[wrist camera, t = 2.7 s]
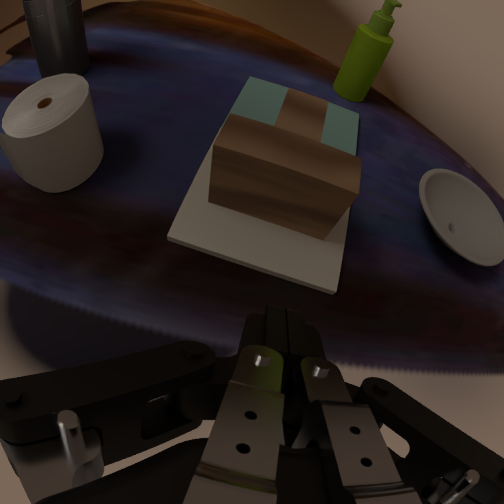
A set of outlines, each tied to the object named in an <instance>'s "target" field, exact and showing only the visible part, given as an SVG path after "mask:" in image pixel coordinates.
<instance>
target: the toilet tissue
mask: <svg viewBox="0 0 504 504" xmlns="http://www.w3.org/2000/svg"><path fill="white" fill-rule="evenodd" d="M2 122H3V123H2V128H3V130H4V132H5V134H6V135H4V134H2V133H0V147H1V148H2V150H3V152H4V153H5V155H6V157H7V158H8V160H9V162H10V163H11V165H12V167H13V168H14V170H15V171H16V173H17V174H18V176H20V177H21V178H22V179H23V180H25V181H26V182H27V183H29V184H30V185H32V186H34V187H37V188H39V189H40V190H42V191H45V192H50V193H57V192H63V191H67V190H70V189H72V188H74V187H76V186H78V185H80V184H81V183H83V182H84V181H85V180H87V179H88V178H89V177H90V176H91V175H92V174H93V173H94V172H95V171H96V169H97V168H98V166H99V165H100V162H101V160H102V158H103V153H104V147H103V142H102V137H101V135H100V131H99V128H98V123H97V120H96V115H95V112H94V108H93V102H92V97H91V95H90V90H89V85H88V82H87V81H86V80H85V79H84V78H83V77H82V76H79V75H76V74H67V73H64V74H59V75H54V76H51V77H46V78H44V79H42V80H40V81H38V82H36V83H35V84H33V85H31V86H30V87H28V88H27V89H25V90H24V91H23V92H22V93H20V94H19V95H18V96H17V97H16V98H15V99H14V100H13V101H12V103H11V104H10V105H9V107H8V108H7V110H6V112H5V114H4V117H3V119H2Z"/></svg>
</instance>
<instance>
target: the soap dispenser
mask: <svg viewBox="0 0 504 504" xmlns="http://www.w3.org/2000/svg"><path fill="white" fill-rule="evenodd" d="M401 6H402V4H401V3H399V2H398V1H397V0H385V2H384V4H383V6H382V9H381V11H380V10H379V11H374V12H373V15H372V17H371V19H370V22H369V24H360V25H359V26H358V28H357V31H356V33H355V35H354V38H353V40H352V42H351V45H350V47H349V49H348V52H347V54H346V56H345V59H344V61H343V63H342V66H341V68H340V70H339V73H338V75H337V77H336V80H335V82H334V84H333V88H334V90H335V92H336V93H337V94H338V95H340V96H341V97H343V98H344V99H346V100H349V101H352V102H361V101H363V100H364V98H365V96H366V94H367V92H368V90H369V89H370V87H371V85H372V83H373V81H374V79H375V77H376V75H377V73H378V71H379V70H380V68H381V66H382V64H383V62H384V60H385V58H386V56H387V54H388V52H389V50H390V48H391V46H392V44H393V42H394V41H393V39H392V38H391V37H390V36H389V35H388V34H389V32H390V29H391V28H392V26H393V24H394V19H393V17H392V16H391V15H392V12H393V10H394V8H395V7H401Z"/></svg>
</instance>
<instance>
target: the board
mask: <svg viewBox="0 0 504 504" xmlns="http://www.w3.org/2000/svg"><path fill="white" fill-rule="evenodd" d="M288 89H289V88H287V87H284V86H281V85H277V84H274V83H271V82H267V81H264V80H261V79H257V78H254V77H249V79H248V81H247V82H246V84H245V86H244V88H243V89H242V91H241V93H240V94H239V96H238V98H237V100H236V101H235V103H234V105H233V107H232V109H231V110H230V112H229V114H230V113H232V114H236V115H239V116H243V117H246V118H250V119H253V120H256V121H259V122H263V123H266V124H269V125H272V126H274V125H275V122H276V120H277V117H278V114H279V112H280V109H281V107H282V104H283V101H284V99H285V96H286V94H287V91H288ZM229 114H228V116H229ZM228 116H227V118H228ZM227 118H226V119H227ZM226 119H225V121H226ZM225 121H224V123H225ZM358 122H359V114H357V113H355V112H353V111H350V110H348V109H345V108H343V107H340V106H338V105H335V104H332V103H330V102H328V107H327V112H326V117H325V122H324V127H323V132H322V137H321V143H324V144H326V145H329V146H332V147H334V148H337V149H339V150H342V151H344V152H347V153H349V154H352V155H354V156H356V146H357V134H358ZM224 123H223V125H224ZM223 125H222V126H221V128H220V130H221V129H222V127H223ZM220 130H219V132H220ZM219 132H218V134H219ZM218 134H217V136H218ZM217 136H216V137H215V139H214V141H213V143H212V145H211V147H210V149H209V151H208V153H207V155H206V156H205V158H204V160H203V162H202V164H201V166H200V168H199V170H198V172H197V174H196V176H195V178H194V180H193V182H192V184H191V186H190V188H189V190H188V192H187V194H186V196H185V198H184V201H183V203H182V205H181V207H180V209H179V211H178V213H177V215H176V217H175V220H174V222H173V224H172V226H171V228H170V230H169V233H168V235H167V239H168V241H171V242H174V243H177V244H180V245H183V246H186V247H189V248H192V249H195V250H198V251H201V252H203V253H206V254H209V255H212V256H215V257H218V258H221V259H224V260H227V261H230V262H233V263H236V264H239V265H242V266H245V267H248V268H251V269H254V270H258V271H261V272H264V273H267V274H270V275H273V276H276V277H279V278H282V279H285V280H288V281H291V282H294V283H297V284H300V285H303V286H307V287H310V288H313V289H316V290H319V291H322V292H325V293H328V294H331V295H333V294H334V293H336V291H337V286H338V281H339V275H340V269H341V263H342V257H343V251H344V245H345V238H346V232H347V225H348V218H349V210H350V207H349V208H348V209H347V211H346V212H345V213H344V215H343V216H342V217H341V218H340V220H339V221H338V222H337V224H336V225H335V226H334V228H333V229H332V230H331V231H330V233H329V234H328V235H327V237H326V238H325V239H324V240H323V241H322V240H320V239H317V238H314V237H311V236H308V235H305V234H302V233H300V232H297V231H294V230H291V229H288V228H285V227H282V226H279V225H276V224H273V223H270V222H267V221H264V220H261V219H258V218H255V217H252V216H249V215H246V214H243V213H240V212H237V211H234V210H231V209H228V208H225V207H222V206H219V205H216V204H213V203H209V202H208V194H209V183H210V171H211V161H212V151H213V144H214V142H215V140H216V138H217Z"/></svg>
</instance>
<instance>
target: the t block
mask: <svg viewBox="0 0 504 504" xmlns="http://www.w3.org/2000/svg"><path fill="white" fill-rule="evenodd" d="M327 107H328V101H326V100H323V99H320V98H318V97H315V96H312V95H309V94H306V93H303V92H301V91H298V90H295V89H292V88H289V89H288V91H287V94H286V96H285V99H284V101H283V104H282V107H281V109H280V112H279V114H278V117H277V120H276V122H275V125H274V126H272V125H269V124H266V123H263V122H259V121H256V120H253V119H250V118H246V117H243V116H239V115H236V114H232V113H230V114H229V116H228V118H227V119H226V121H225V123H224V125H223V127H222V129H221V130H220V132H219V134H218V136H217V138H216V140H215V142H214V144H213V151H212V161H211V171H210V183H209V194H208V202H209V203H213V204H216V205H219V206H222V207H225V208H228V209H231V210H234V211H237V212H240V213H243V214H246V215H249V216H252V217H255V218H258V219H261V220H264V221H267V222H270V223H273V224H276V225H279V226H282V227H285V228H288V229H291V230H294V231H297V232H300V233H302V234H305V235H308V236H311V237H314V238H317V239H320V240H322V241H323V240H324V239H325V238H326V237H327V235H328V234H329V233H330V231H331V230H332V229H333V228H334V226H335V225H336V224H337V222H338V221H339V220H340V218H341V217H342V216H343V215H344V213H345V212H346V211H347V209H348V208H349V207H350V205H351V204H352V203H353V201H354V200H355V199H356V197H357V196H358V195H359V187H360V177H361V165H362V158H359V157H357V156H354V155H352V154H349V153H347V152H344V151H342V150H339V149H337V148H334V147H332V146H329V145H326V144H324V143H321V137H322V132H323V127H324V122H325V117H326V112H327Z"/></svg>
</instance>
